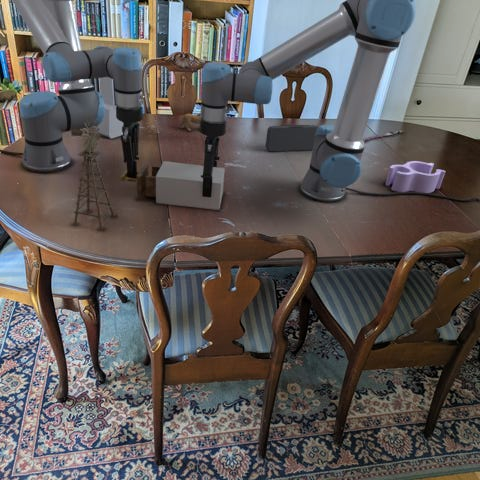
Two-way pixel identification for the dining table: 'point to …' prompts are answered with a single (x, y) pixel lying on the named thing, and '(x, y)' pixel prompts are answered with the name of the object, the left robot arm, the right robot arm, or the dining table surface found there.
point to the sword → (381, 136)
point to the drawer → (144, 180)
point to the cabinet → (188, 186)
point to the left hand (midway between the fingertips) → (132, 180)
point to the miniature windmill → (85, 153)
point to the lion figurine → (188, 118)
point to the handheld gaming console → (290, 137)
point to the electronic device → (109, 110)
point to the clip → (414, 177)
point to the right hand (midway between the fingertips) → (209, 187)
